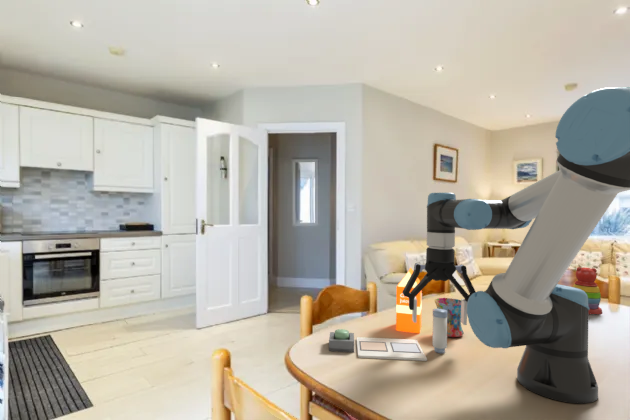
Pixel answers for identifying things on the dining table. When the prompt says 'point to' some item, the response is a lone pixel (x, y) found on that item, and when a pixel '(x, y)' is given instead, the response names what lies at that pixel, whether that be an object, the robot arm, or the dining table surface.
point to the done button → (342, 334)
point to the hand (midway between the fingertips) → (438, 322)
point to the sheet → (390, 349)
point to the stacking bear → (589, 288)
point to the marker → (439, 330)
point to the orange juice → (407, 307)
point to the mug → (451, 315)
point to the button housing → (341, 343)
